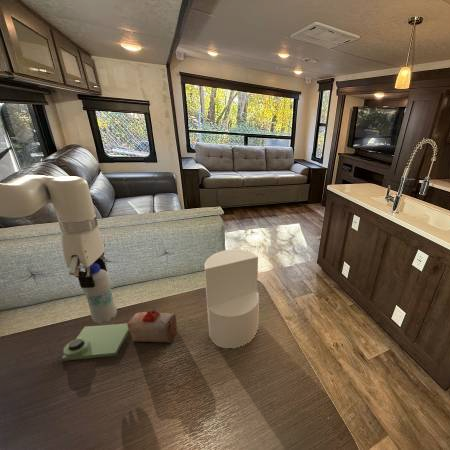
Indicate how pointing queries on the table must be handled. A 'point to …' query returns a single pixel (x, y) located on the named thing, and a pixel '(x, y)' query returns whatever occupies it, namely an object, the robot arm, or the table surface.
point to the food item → (153, 327)
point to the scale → (98, 342)
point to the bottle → (100, 296)
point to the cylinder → (232, 297)
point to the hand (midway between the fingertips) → (94, 279)
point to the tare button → (76, 344)
